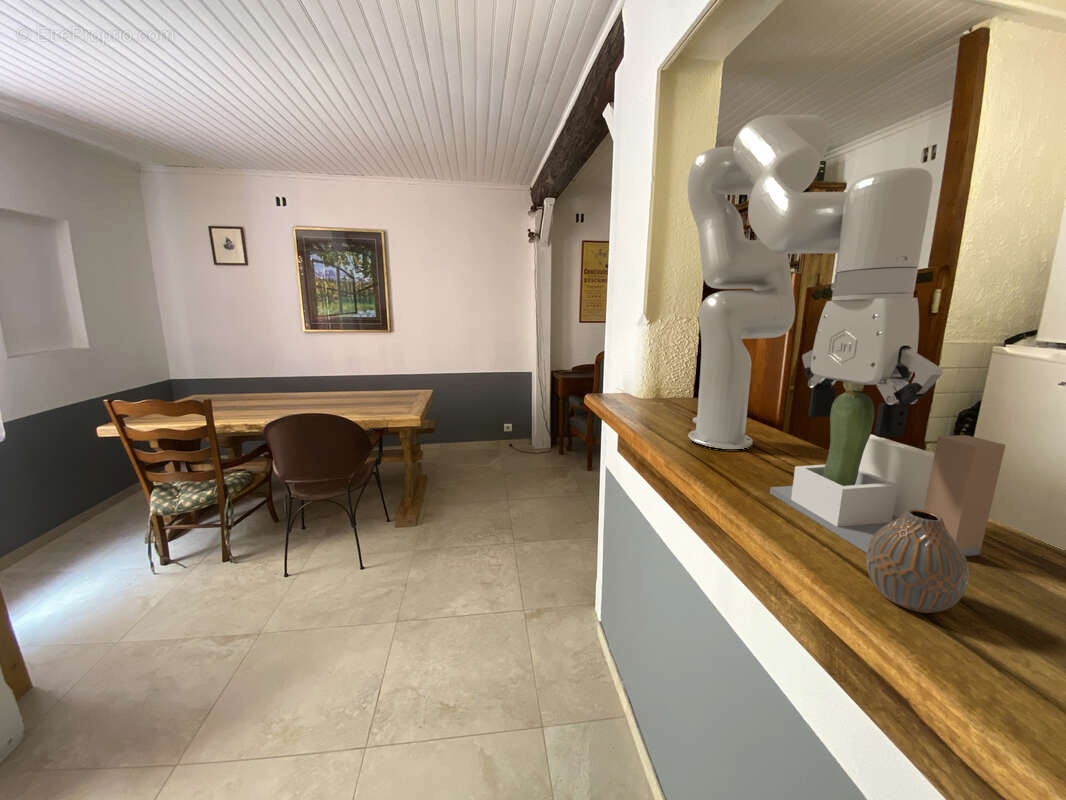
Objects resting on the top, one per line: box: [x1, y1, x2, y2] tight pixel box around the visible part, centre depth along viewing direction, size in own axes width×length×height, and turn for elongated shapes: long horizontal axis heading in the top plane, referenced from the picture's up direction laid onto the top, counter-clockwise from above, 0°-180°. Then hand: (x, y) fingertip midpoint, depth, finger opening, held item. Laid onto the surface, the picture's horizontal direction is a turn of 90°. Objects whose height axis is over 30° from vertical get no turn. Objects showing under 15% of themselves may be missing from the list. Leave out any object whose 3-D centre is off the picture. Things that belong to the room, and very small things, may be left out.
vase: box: [865, 509, 970, 614], centre depth 37 cm, size 7×7×9 cm
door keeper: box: [769, 434, 1007, 557], centre depth 52 cm, size 18×12×13 cm, turn 7°
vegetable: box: [823, 381, 875, 486], centre depth 51 cm, size 4×4×20 cm
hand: (851, 425), depth 51 cm, fingers open, 9 cm apart
